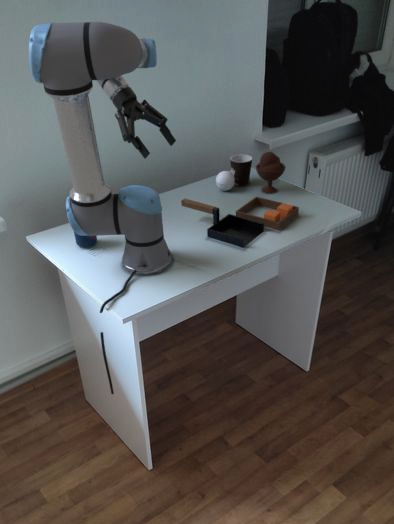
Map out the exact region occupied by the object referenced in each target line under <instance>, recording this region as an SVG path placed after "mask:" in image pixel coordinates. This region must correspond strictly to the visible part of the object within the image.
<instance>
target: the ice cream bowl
mask: <svg viewBox="0 0 394 524" xmlns="http://www.w3.org/2000/svg"><path fill="white" fill-rule="evenodd" d="M255 170H256V173H257V174H258V176H259V177H260V178H261V179H262V180H263V181H266V186H264V187H263V188H262V189H261V191H262V193H265V194H274V193H276V192H277V188H276V187H275V186H273V181H277V180H278V179H280V177H281V176H282V175H283V174H284V172H285V171H286V165H285V164H284V163H283V162H281V159H280V157H279V156H278V155H277V154H275V153H274V152H273V151H265V152H263V154H261V156H260V159H259V162H258V163H257V164H256V165H255Z"/></svg>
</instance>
